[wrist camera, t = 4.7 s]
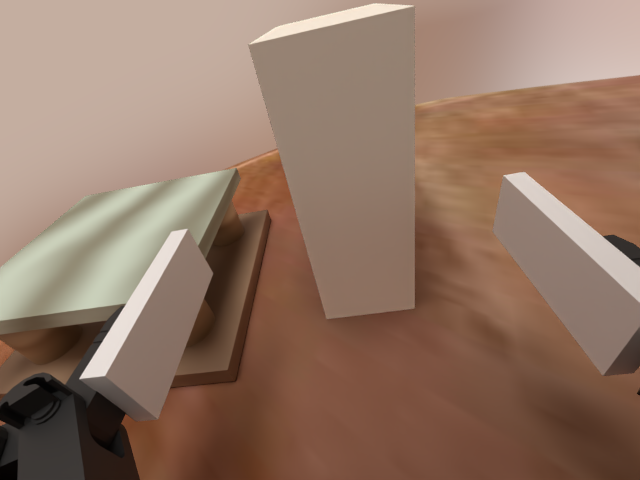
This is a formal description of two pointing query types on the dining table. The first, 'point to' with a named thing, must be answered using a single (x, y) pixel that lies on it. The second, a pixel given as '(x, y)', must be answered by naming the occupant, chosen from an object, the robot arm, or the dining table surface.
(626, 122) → the dining table surface
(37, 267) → the peg shelf
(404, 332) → the dining table surface
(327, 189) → the cream rectangular block
